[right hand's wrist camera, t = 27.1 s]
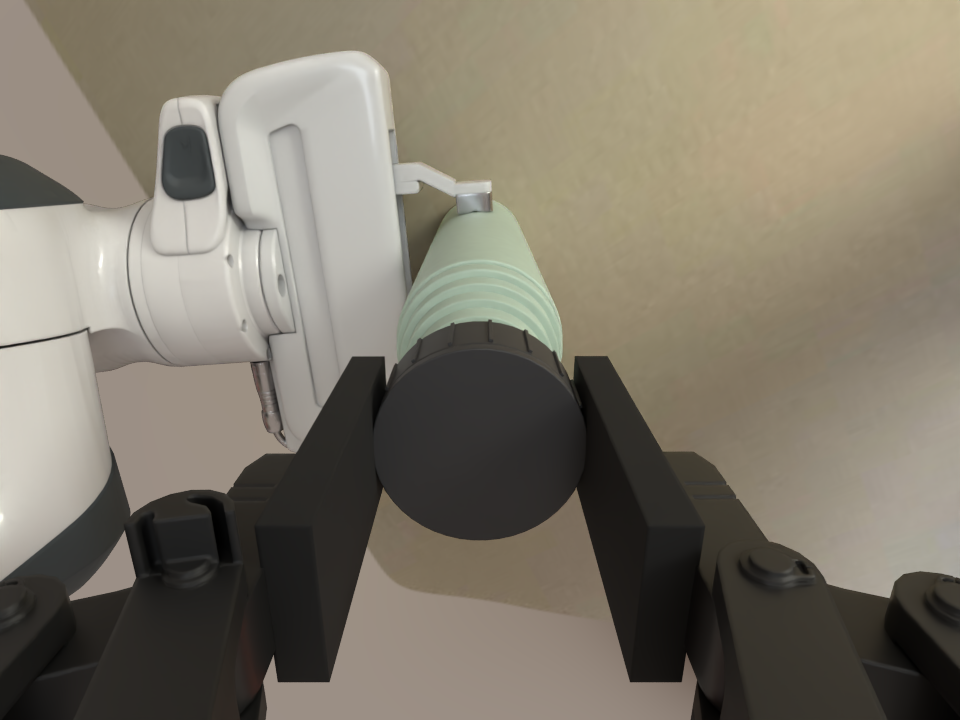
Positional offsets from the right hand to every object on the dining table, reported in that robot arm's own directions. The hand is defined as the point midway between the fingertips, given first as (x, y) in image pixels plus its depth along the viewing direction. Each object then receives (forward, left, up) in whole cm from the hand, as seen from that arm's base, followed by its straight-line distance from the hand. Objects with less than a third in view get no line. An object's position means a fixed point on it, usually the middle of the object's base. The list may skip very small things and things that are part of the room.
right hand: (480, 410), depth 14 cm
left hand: (0, +1, -18) cm, 18 cm away
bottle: (0, 0, -25) cm, 25 cm away
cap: (0, 0, +2) cm, 2 cm away
